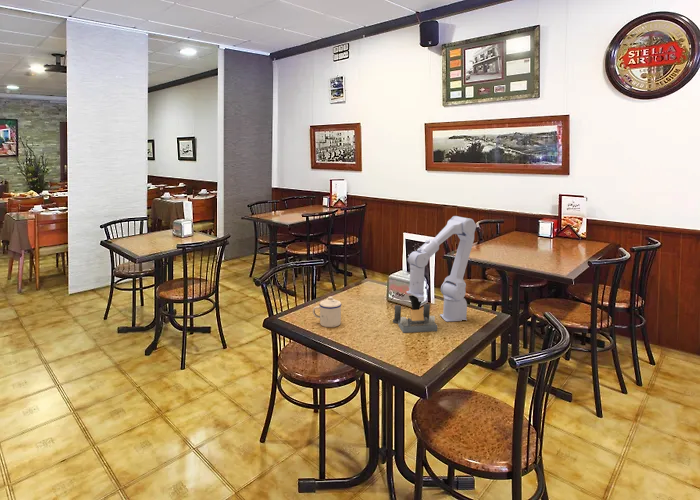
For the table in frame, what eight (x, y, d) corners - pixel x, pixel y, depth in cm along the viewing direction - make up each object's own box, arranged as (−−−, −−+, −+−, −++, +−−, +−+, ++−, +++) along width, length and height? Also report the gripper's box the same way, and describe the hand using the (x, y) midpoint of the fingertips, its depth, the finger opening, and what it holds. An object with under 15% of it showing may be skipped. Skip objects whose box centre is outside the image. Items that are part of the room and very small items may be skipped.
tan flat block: (424, 321, 182) (422, 309, 183) (424, 321, 181) (423, 309, 182) (410, 322, 181) (409, 310, 182) (411, 322, 180) (410, 310, 181)
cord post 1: (400, 319, 191) (401, 304, 189) (403, 323, 187) (403, 307, 185) (391, 320, 190) (392, 304, 189) (393, 323, 186) (394, 307, 185)
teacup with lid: (342, 320, 190) (342, 294, 187) (339, 328, 181) (339, 301, 179) (315, 318, 191) (314, 293, 189) (310, 326, 183) (310, 299, 180)
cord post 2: (429, 318, 193) (429, 303, 191) (432, 321, 189) (432, 306, 187) (420, 318, 192) (420, 303, 191) (423, 322, 188) (423, 306, 187)
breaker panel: (430, 323, 187) (431, 312, 186) (437, 331, 179) (437, 319, 178) (398, 325, 185) (398, 314, 184) (403, 332, 177) (403, 321, 176)
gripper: (402, 276, 187) (401, 307, 190) (412, 286, 173) (411, 319, 176) (418, 276, 188) (417, 306, 191) (429, 285, 174) (428, 318, 177)
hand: (415, 312), depth 184 cm, fingers closed, pressing on tan flat block
